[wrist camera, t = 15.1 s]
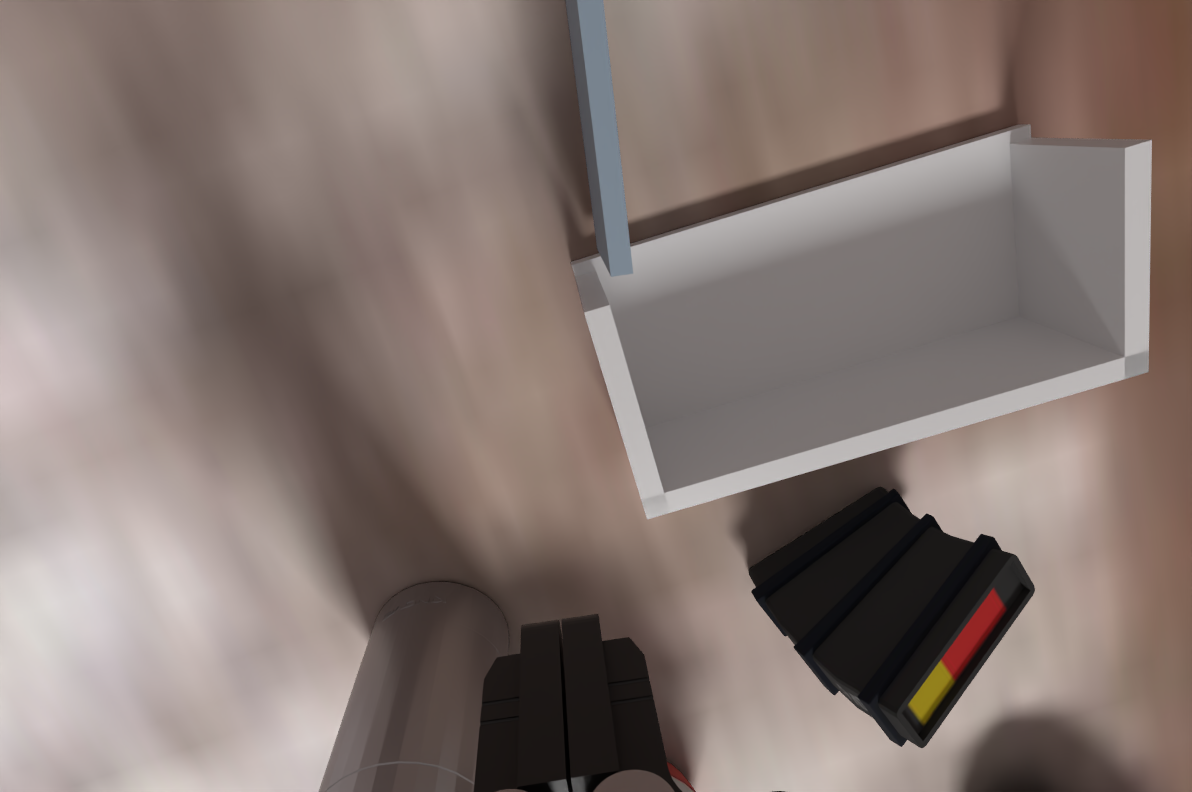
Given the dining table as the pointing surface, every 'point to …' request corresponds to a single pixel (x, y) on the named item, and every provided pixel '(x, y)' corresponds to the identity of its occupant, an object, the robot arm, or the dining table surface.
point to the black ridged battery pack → (892, 609)
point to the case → (874, 311)
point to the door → (600, 132)
